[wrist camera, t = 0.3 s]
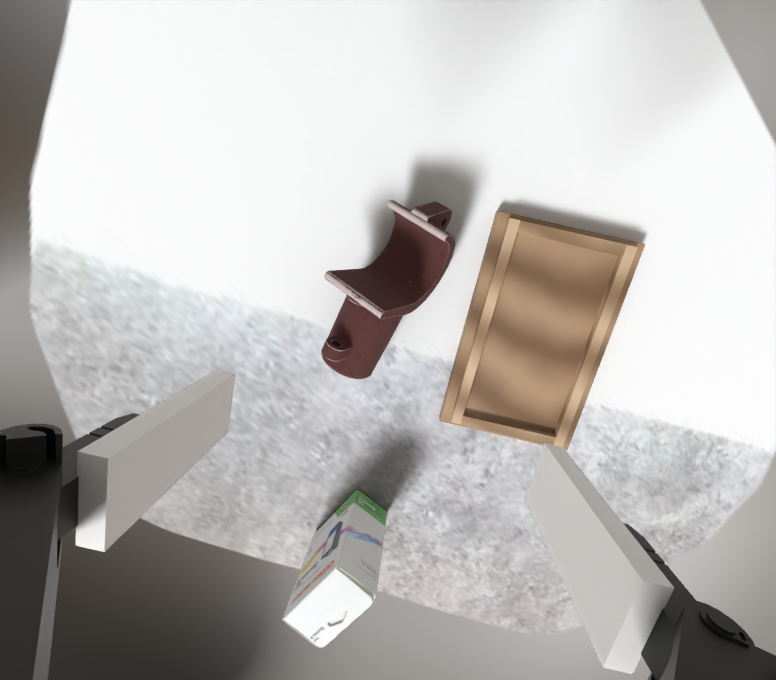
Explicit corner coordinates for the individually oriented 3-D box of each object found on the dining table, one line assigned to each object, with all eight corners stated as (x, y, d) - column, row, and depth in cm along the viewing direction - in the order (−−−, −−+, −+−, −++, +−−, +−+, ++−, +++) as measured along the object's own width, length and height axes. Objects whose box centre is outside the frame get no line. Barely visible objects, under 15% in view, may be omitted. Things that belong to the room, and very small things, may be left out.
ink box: (344, 554, 46) (322, 655, 35) (312, 530, 46) (278, 624, 34) (389, 511, 44) (381, 601, 33) (355, 485, 44) (336, 567, 32)
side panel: (495, 212, 36) (500, 210, 34) (637, 244, 36) (650, 244, 34) (439, 416, 41) (440, 424, 39) (562, 444, 41) (570, 454, 39)
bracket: (475, 222, 34) (434, 212, 25) (393, 366, 41) (340, 395, 32) (421, 192, 35) (366, 172, 27) (352, 334, 43) (292, 354, 34)
